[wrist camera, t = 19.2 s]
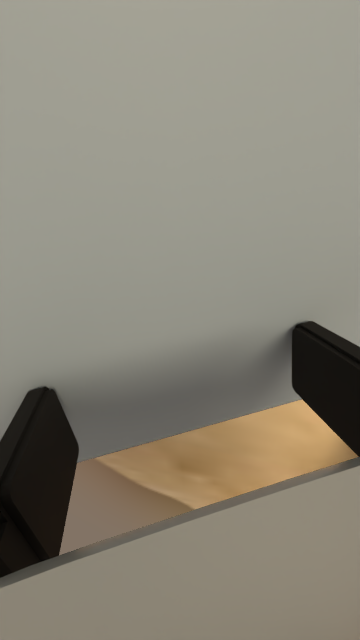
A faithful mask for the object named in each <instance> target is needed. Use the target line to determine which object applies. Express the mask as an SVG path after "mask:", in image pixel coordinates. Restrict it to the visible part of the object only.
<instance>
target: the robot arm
mask: <svg viewBox="0 0 360 640" xmlns="http://www.w3.org/2000/svg"><path fill="white" fill-rule="evenodd" d="M292 387H293V389H294V391H295V392H296V393H297V394H298V395H299V396H300V397H301V398H302V399H303V400H304V401H305V402H306V403H307V404H308V405H309V407H310V408H311V409H312V410H313V411H314V412H315V413H316V414H317V415H318V416H319V417H320V418H321V419H322V420H323V421H324V422H325V423H326V424H327V425H328V426H329V427H330V428H331V429H332V430H333V431H334V432H335V433H336V434H337V435H338V436H339V437H340V438H341V439H342V440H343V441H344V442H345V443H346V444H347V445H348V446H349V447H350V448H351V449H352V450H353V451H354V452H355V453H356V454H357V455H358V456H359V457H357V458H354V459H351V460H348V461H345V462H341V463H338V464H335V465H332V466H329V467H326V468H323V469H319V470H316V471H313V472H310V473H307V474H304V475H301V476H297V477H294V478H291V479H288V480H285V481H282V482H279V483H276V484H273V485H270V486H267V487H263V488H260V489H257V490H254V491H251V492H248V493H245V494H242V495H239V496H236V497H233V498H230V499H227V500H223V501H220V502H217V503H214V504H211V505H208V506H205V507H202V508H199V509H196V510H193V511H190V512H187V513H184V514H181V515H178V516H175V517H172V518H169V519H166V520H163V521H160V522H157V523H154V524H151V525H148V526H145V527H142V528H139V529H136V530H133V531H130V532H126V533H123V534H121V535H117V536H114V537H111V538H109V539H105V540H103V541H100V542H96V543H94V544H91V545H88V546H85V547H82V548H79V549H76V550H74V551H71V552H68V553H65V554H62V555H60V556H59V552H60V547H61V542H62V536H63V532H64V526H65V521H66V516H67V511H68V506H69V501H70V496H71V491H72V486H73V480H74V475H75V470H76V464H77V460H78V455H79V445H78V442H77V440H76V437H75V435H74V433H73V431H72V428H71V426H70V424H69V421H68V419H67V417H66V415H65V412H64V410H63V408H62V406H61V403H60V401H59V399H58V397H57V394H56V392H55V391H54V390H53V389H51V390H49V388H48V387H42V388H38V389H34V390H30V391H28V393H27V394H26V396H25V398H24V399H23V401H22V403H21V405H20V407H19V408H18V410H17V412H16V414H15V416H14V417H13V419H12V421H11V423H10V424H9V426H8V428H7V430H6V432H5V433H4V435H3V437H2V439H1V441H0V640H360V347H359V346H357V345H355V344H354V343H352V342H350V341H348V340H346V339H344V338H343V337H341V336H339V335H337V334H335V333H334V332H332V331H330V330H328V329H326V328H324V327H323V326H321V325H319V324H317V323H315V322H313V321H308V322H304V323H300V324H297V325H296V327H295V329H293V331H292Z"/></svg>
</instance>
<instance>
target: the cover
mask: <svg viewBox="0 0 360 640" xmlns="http://www.w3.org/2000/svg"><path fill="white" fill-rule="evenodd" d="M308 321H313V322H315V323H317V324H319V325H321V326H323V327H324V328H326V329H328V330H330V331H332V332H334V333H335V334H337V335H339V336H341V337H343V338H344V339H346V340H348V341H350V342H352V343H354V344H355V345H357V346H359V347H360V0H0V441H1V439H2V437H3V435H4V433H5V432H6V430H7V428H8V426H9V424H10V423H11V421H12V419H13V417H14V416H15V414H16V412H17V410H18V408H19V407H20V405H21V403H22V401H23V399H24V398H25V396H26V394H27V393H28V391H30V390H34V389H38V388H42V387H48V388H49V390H51V389H53V390H54V391H55V392H56V394H57V397H58V399H59V401H60V403H61V406H62V408H63V410H64V412H65V415H66V417H67V419H68V421H69V424H70V426H71V428H72V431H73V433H74V435H75V437H76V440H77V442H78V445H79V455H78V460H77V463H78V462H81V461H85V460H88V459H92V458H96V457H99V456H103V455H106V454H110V453H113V452H117V451H121V450H124V449H128V448H131V447H135V446H138V445H142V444H145V443H149V442H152V441H156V440H159V439H163V438H167V437H170V436H174V435H177V434H181V433H184V432H188V431H191V430H195V429H198V428H202V427H205V426H209V425H213V424H216V423H220V422H223V421H227V420H230V419H234V418H237V417H241V416H244V415H248V414H251V413H255V412H258V411H262V410H266V409H269V408H273V407H276V406H280V405H283V404H287V403H290V402H294V401H297V400H301V399H302V398H301V397H300V396H299V395H298V394H297V393H296V392H295V391H294V389H293V387H292V331H293V329H295V327H296V325H297V324H300V323H304V322H308Z"/></svg>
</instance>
